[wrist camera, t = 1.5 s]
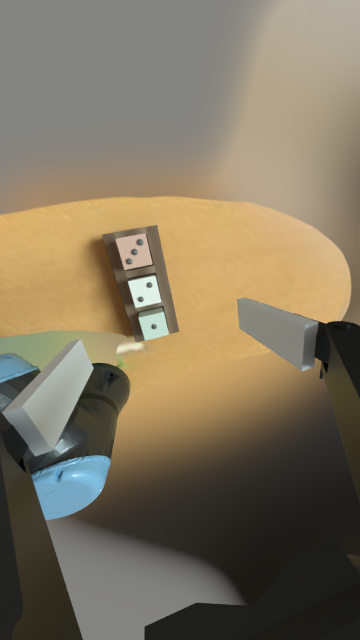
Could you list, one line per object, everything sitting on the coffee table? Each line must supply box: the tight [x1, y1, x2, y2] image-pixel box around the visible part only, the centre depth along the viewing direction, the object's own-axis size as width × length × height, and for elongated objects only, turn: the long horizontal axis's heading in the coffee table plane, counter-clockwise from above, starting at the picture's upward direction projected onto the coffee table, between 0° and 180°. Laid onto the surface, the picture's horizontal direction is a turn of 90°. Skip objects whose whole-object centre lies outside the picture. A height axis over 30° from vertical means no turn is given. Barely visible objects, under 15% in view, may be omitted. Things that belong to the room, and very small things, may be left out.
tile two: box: [128, 274, 161, 308], centre depth 33 cm, size 5×5×5 cm
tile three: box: [116, 233, 153, 270], centre depth 31 cm, size 5×5×5 cm
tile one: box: [139, 306, 169, 341], centre depth 36 cm, size 5×5×5 cm
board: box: [102, 225, 179, 342], centre depth 36 cm, size 10×22×4 cm, turn 11°
